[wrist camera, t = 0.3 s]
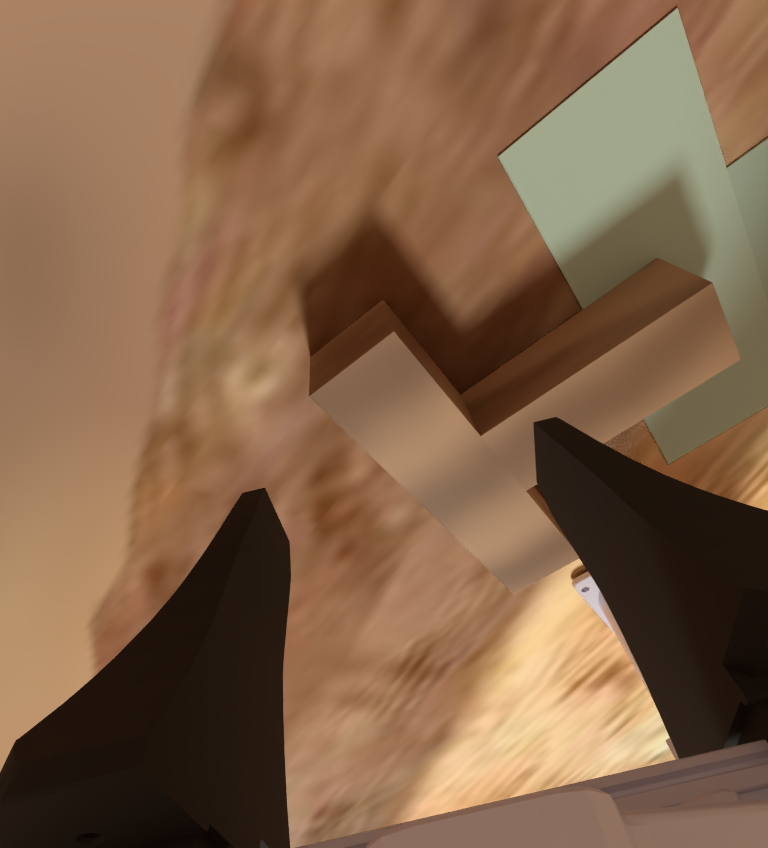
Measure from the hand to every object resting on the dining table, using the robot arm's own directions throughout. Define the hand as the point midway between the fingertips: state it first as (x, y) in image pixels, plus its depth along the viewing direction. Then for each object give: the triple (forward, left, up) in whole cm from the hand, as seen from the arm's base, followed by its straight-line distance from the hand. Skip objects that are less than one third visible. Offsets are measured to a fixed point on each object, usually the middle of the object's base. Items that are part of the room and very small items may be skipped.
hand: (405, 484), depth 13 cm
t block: (-7, -4, -10) cm, 13 cm away
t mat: (-7, -16, -10) cm, 20 cm away
